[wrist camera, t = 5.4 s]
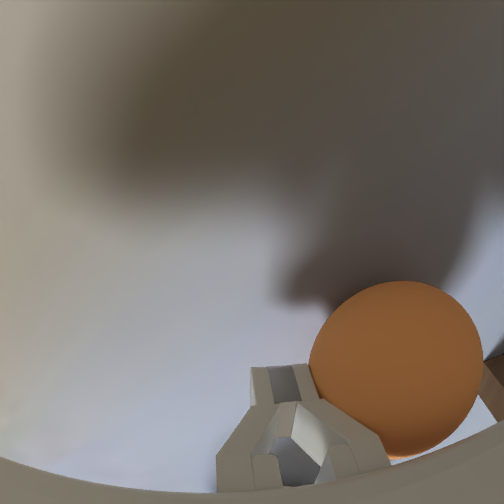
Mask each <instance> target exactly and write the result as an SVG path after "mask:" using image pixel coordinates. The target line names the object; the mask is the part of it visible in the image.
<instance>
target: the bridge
mask: <svg viewBox="0 0 504 504" xmlns="http://www.w3.org/2000/svg"><path fill="white" fill-rule="evenodd" d="M478 395H479V396H480V398H481V399H482V400H483V402H484V403H485V405H486V406H487V408H488V409H489V411H490V412H491V413H492V415H493V416H494V418H495V419H496V421H497V422H500V421H502V420H504V354H503V355H500V356H498V357H495V358H493V359H490V360H488V361H485V362H483V374H482V380H481V385H480V389H479V392H478Z"/></svg>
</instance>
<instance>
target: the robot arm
mask: <svg viewBox="0 0 504 504" xmlns="http://www.w3.org/2000/svg"><path fill="white" fill-rule="evenodd" d="M250 406H251V407H250V409H249V410H248V411H247V413H246V414H245V416H244V417H243V419H242V420H241V422H240V423H239V424H238V426H237V427H236V429H235V430H234V432H233V433H232V434H231V436H230V437H229V439H228V440H227V441H226V443H225V444H224V446H223V447H222V448H221V450H220V451H219V452H218V454H217V455H216V473H217V493H186V492H166V491H153V490H142V489H133V488H125V487H118V486H111V485H105V484H99V483H94V482H89V481H84V480H79V479H74V478H70V477H66V476H62V475H58V474H54V473H50V472H46V471H43V470H39V469H36V468H33V467H29V466H26V465H23V464H20V463H17V462H14V461H11V460H8V459H6V458H3V457H0V504H504V420H502V421H500V422H498V423H496V424H494V425H492V426H490V427H488V428H486V429H484V430H482V431H480V432H478V433H476V434H474V435H472V436H470V437H468V438H465V439H463V440H461V441H458V442H456V443H454V444H451V445H449V446H447V447H444V448H442V449H439V450H437V451H434V452H431V453H429V454H426V455H423V456H420V457H417V458H415V459H412V460H409V461H406V462H402V463H399V464H396V465H393V466H392V465H391V463H390V461H389V458H388V456H387V454H386V452H385V449H384V447H383V445H382V443H381V440H380V438H379V436H378V435H377V434H376V433H374V432H372V431H371V430H369V429H368V428H366V427H365V426H363V425H362V424H360V423H359V422H357V421H356V420H355V419H353V418H352V417H350V416H349V415H347V414H346V413H344V412H343V411H341V410H340V409H338V408H337V407H336V406H334V405H333V404H331V403H330V402H328V401H327V400H326V399H320V398H319V395H318V392H317V390H316V387H315V384H314V381H313V378H312V375H311V372H310V370H309V367H308V365H307V364H306V363H305V364H295V365H286V366H268V367H251V369H250ZM290 436H291V438H292V439H293V440H294V441H295V442H296V443H297V444H298V445H299V446H300V447H301V448H302V449H303V450H304V451H305V452H306V453H307V454H308V455H309V456H310V457H311V458H312V459H313V460H314V461H315V462H316V463H317V464H318V465H319V466H320V467H321V468H320V471H319V473H318V476H317V478H316V480H315V483H314V484H310V485H304V486H297V487H290V488H283V483H282V478H281V473H280V468H279V463H278V458H277V457H276V456H274V455H272V454H269V452H270V450H271V448H272V446H273V444H274V442H275V440H276V438H280V437H290Z"/></svg>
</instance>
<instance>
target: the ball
mask: <svg viewBox="0 0 504 504" xmlns="http://www.w3.org/2000/svg"><path fill="white" fill-rule="evenodd" d="M308 367H309V370H310V372H311V375H312V378H313V381H314V384H315V387H316V390H317V392H318V395H319V398H320V399H326V400H327V401H328V402H330V403H331V404H333V405H334V406H336V407H337V408H338V409H340V410H341V411H343V412H344V413H346V414H347V415H349V416H350V417H352V418H353V419H355V420H356V421H357V422H359V423H360V424H362V425H363V426H365V427H366V428H368V429H369V430H371V431H372V432H374V433H376V434H377V435H378V436H379V438H380V440H381V443H382V445H383V447H384V449H385V452H386V454H387V456H388V458H389V459H400V458H407V457H410V456H414V455H417V454H420V453H422V452H425V451H427V450H429V449H431V448H433V447H435V446H436V445H438V444H439V443H441V442H442V441H443V440H445V439H446V438H447V437H449V436H450V435H451V434H452V433H453V432H454V431H455V430H456V429H457V428H458V427H459V425H460V424H461V423H462V422H463V421H464V419H465V418H466V416H467V415H468V413H469V411H470V410H471V408H472V406H473V404H474V402H475V400H476V397H477V395H478V392H479V389H480V385H481V380H482V374H483V351H482V346H481V341H480V337H479V334H478V331H477V329H476V326H475V325H474V323H473V321H472V319H471V317H470V316H469V314H468V313H467V312H466V311H465V309H464V308H463V307H462V305H460V304H459V303H458V302H457V301H456V300H455V299H454V298H453V297H451V296H450V295H448V294H447V293H445V292H444V291H442V290H440V289H438V288H436V287H433V286H431V285H428V284H424V283H420V282H415V281H402V280H401V281H392V282H385V283H381V284H377V285H374V286H371V287H368V288H366V289H364V290H362V291H360V292H358V293H357V294H355V295H353V296H352V297H350V298H349V299H348V300H346V301H345V302H344V303H342V304H341V305H340V306H339V307H338V308H337V309H336V310H335V311H334V312H333V313H332V314H331V316H330V317H329V318H328V319H327V321H326V322H325V324H324V325H323V326H322V328H321V330H320V331H319V333H318V335H317V337H316V340H315V342H314V345H313V347H312V350H311V353H310V359H309V364H308Z"/></svg>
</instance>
